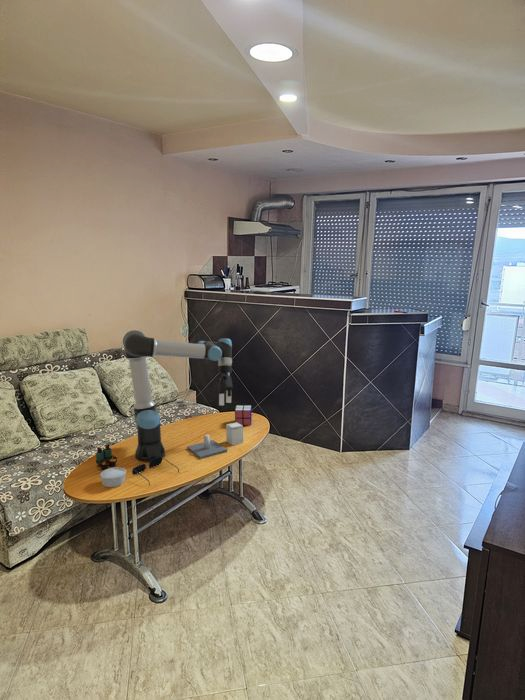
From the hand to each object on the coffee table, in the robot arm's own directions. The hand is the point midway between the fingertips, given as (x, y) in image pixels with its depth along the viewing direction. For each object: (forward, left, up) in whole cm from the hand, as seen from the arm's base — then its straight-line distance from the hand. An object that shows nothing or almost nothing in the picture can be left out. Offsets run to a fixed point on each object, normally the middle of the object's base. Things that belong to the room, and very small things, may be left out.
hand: (225, 404), depth 239 cm
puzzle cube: (+26, +23, -24) cm, 42 cm away
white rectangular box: (+6, 0, -23) cm, 24 cm away
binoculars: (-62, +9, -24) cm, 67 cm away
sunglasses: (-45, -12, -24) cm, 53 cm away
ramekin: (-64, -9, -24) cm, 69 cm away
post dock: (-12, -1, -23) cm, 26 cm away
